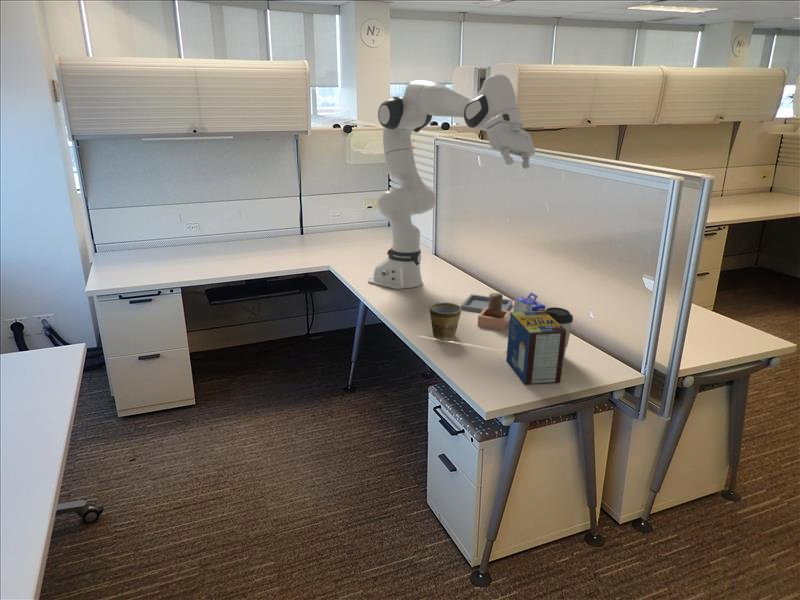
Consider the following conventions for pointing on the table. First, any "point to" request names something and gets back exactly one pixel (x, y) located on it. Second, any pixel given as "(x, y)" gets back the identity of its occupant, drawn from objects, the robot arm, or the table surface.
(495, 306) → the canister
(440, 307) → the ceramic cup
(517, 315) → the protein box
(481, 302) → the tray
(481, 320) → the holder cup
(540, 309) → the ink cartridge box
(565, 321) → the coffee cup
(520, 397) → the table surface
